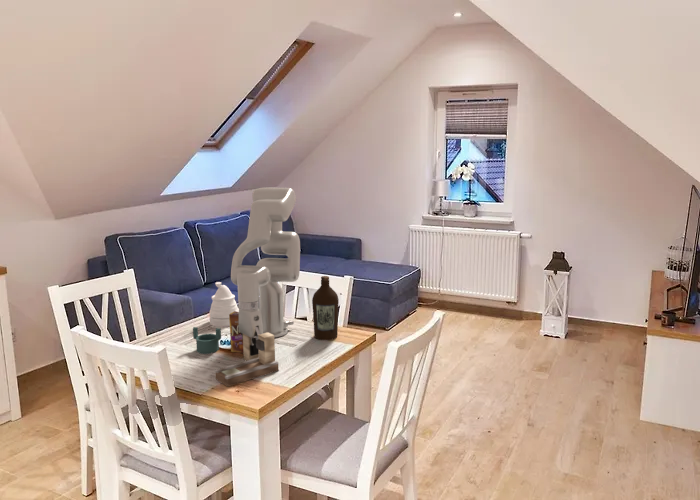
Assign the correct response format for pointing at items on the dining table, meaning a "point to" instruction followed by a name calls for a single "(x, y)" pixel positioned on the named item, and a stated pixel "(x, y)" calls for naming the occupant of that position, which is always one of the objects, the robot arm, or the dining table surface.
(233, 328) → the candy box
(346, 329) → the dining table surface
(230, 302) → the honey pot
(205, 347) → the green cup
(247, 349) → the tan block
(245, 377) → the rail
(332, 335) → the olive oil
